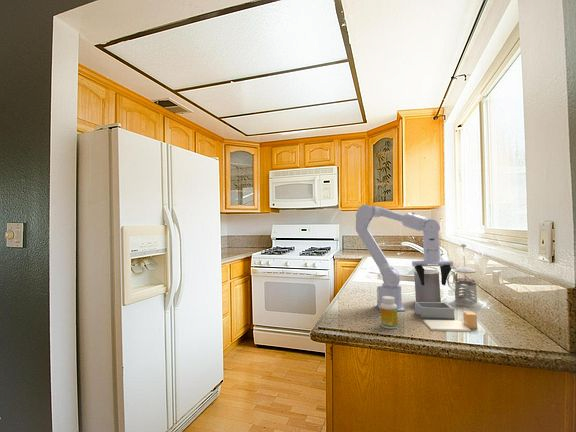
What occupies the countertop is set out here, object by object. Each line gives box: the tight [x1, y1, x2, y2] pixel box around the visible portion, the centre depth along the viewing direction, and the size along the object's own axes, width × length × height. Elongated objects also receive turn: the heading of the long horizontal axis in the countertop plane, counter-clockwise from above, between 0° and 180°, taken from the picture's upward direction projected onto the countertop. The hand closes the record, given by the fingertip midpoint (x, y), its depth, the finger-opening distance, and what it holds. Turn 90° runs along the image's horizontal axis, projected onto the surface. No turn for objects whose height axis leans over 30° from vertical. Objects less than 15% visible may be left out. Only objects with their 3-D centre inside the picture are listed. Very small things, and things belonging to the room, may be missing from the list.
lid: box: [422, 311, 478, 333], centre depth 94 cm, size 15×9×4 cm, turn 81°
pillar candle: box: [413, 267, 442, 302], centre depth 121 cm, size 10×10×15 cm
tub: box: [414, 301, 456, 320], centre depth 105 cm, size 11×8×4 cm
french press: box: [446, 243, 481, 307], centre depth 121 cm, size 10×12×25 cm
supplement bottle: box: [379, 296, 399, 330], centre depth 96 cm, size 5×5×10 cm
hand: (433, 284), depth 111 cm, fingers open, 7 cm apart
